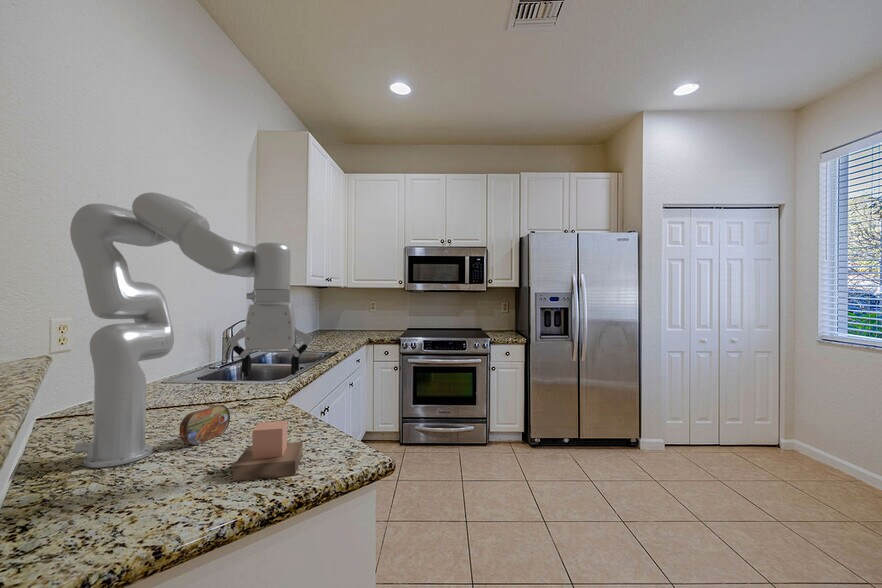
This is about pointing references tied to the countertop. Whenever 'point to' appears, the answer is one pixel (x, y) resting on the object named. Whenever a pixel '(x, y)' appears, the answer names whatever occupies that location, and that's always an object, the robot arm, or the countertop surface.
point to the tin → (204, 424)
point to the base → (268, 464)
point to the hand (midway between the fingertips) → (271, 374)
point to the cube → (269, 439)
